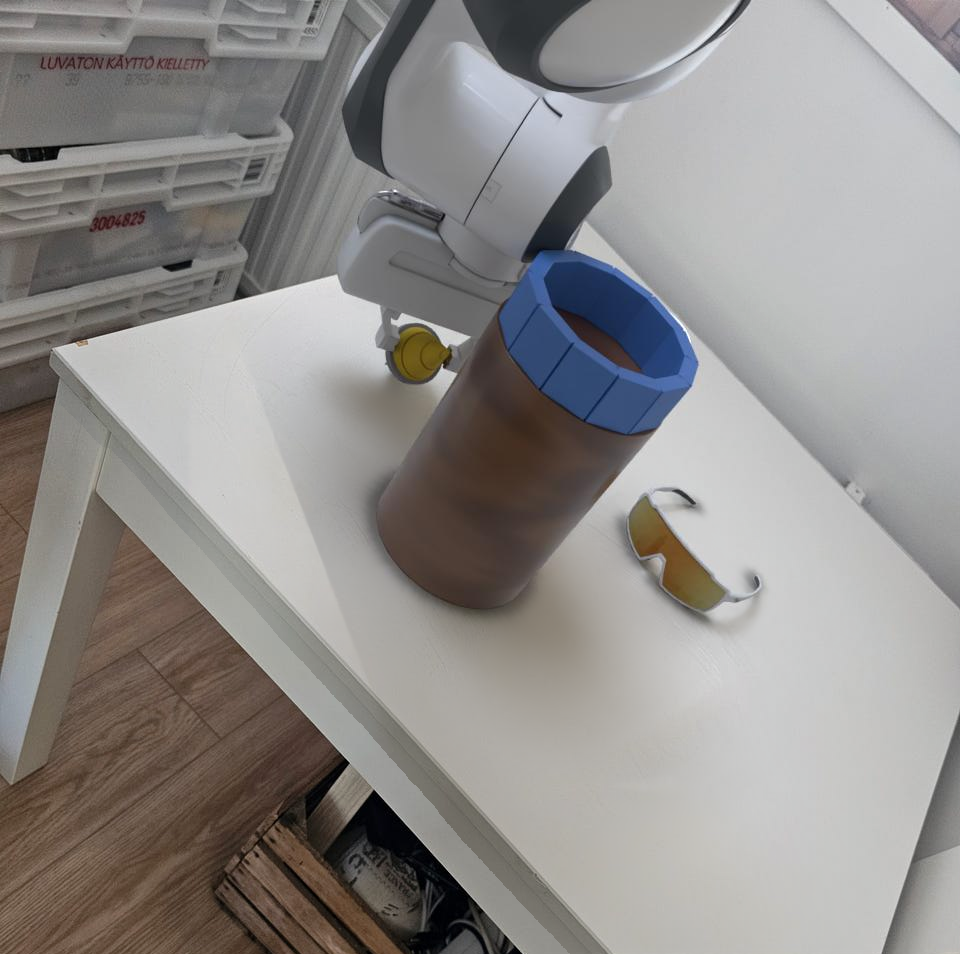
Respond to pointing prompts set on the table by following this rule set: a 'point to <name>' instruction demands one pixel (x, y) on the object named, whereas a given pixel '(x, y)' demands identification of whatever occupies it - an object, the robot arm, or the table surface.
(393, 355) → the yellow tiered cone
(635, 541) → the sunglasses
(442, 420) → the stand
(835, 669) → the table surface
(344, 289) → the robot arm
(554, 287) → the blue segmented ring
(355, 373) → the table surface
